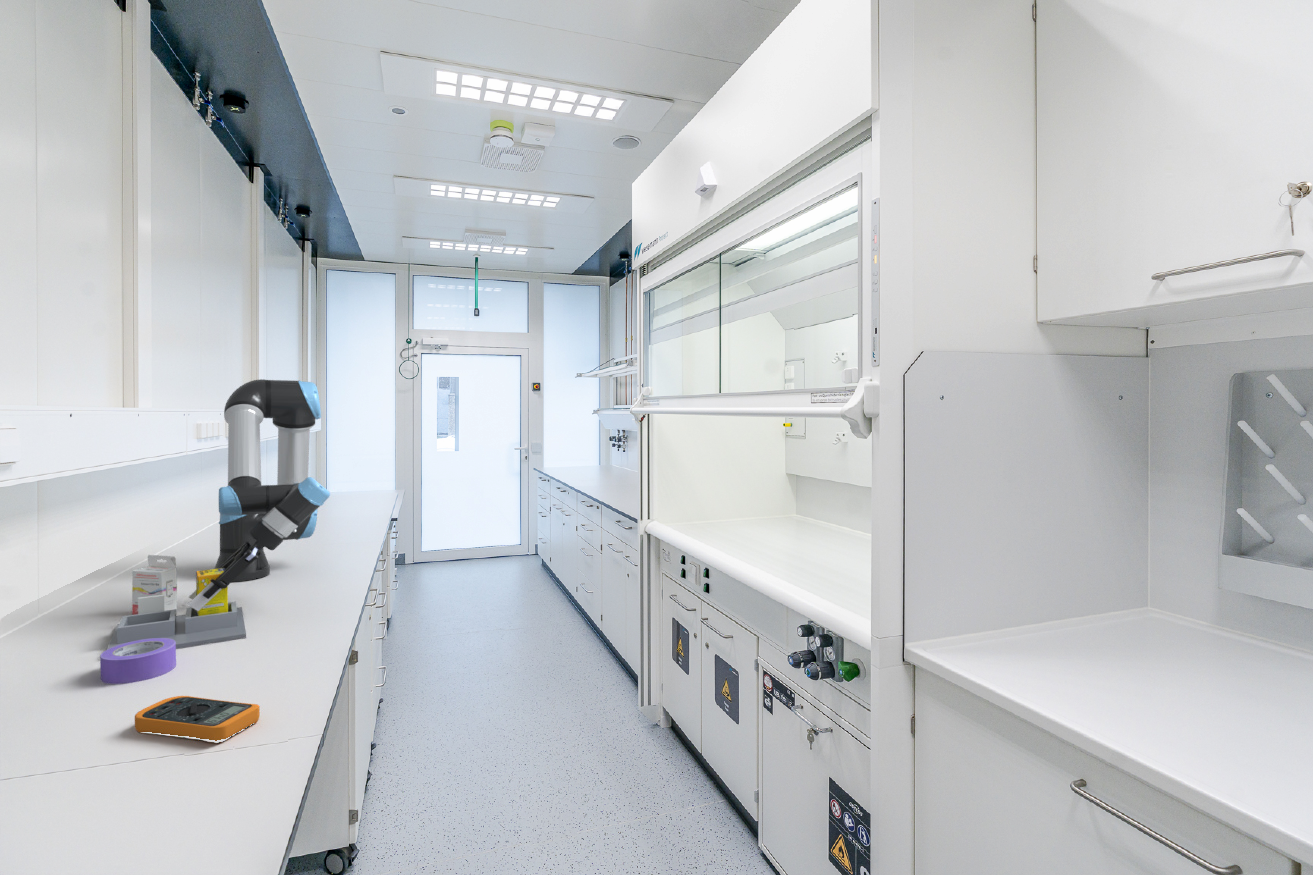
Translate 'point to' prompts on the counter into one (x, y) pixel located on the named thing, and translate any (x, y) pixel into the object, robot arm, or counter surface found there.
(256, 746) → the counter surface
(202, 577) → the supplement box
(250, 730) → the counter surface
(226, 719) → the multimeter
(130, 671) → the tape roll
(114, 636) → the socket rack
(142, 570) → the ink cartridge box
